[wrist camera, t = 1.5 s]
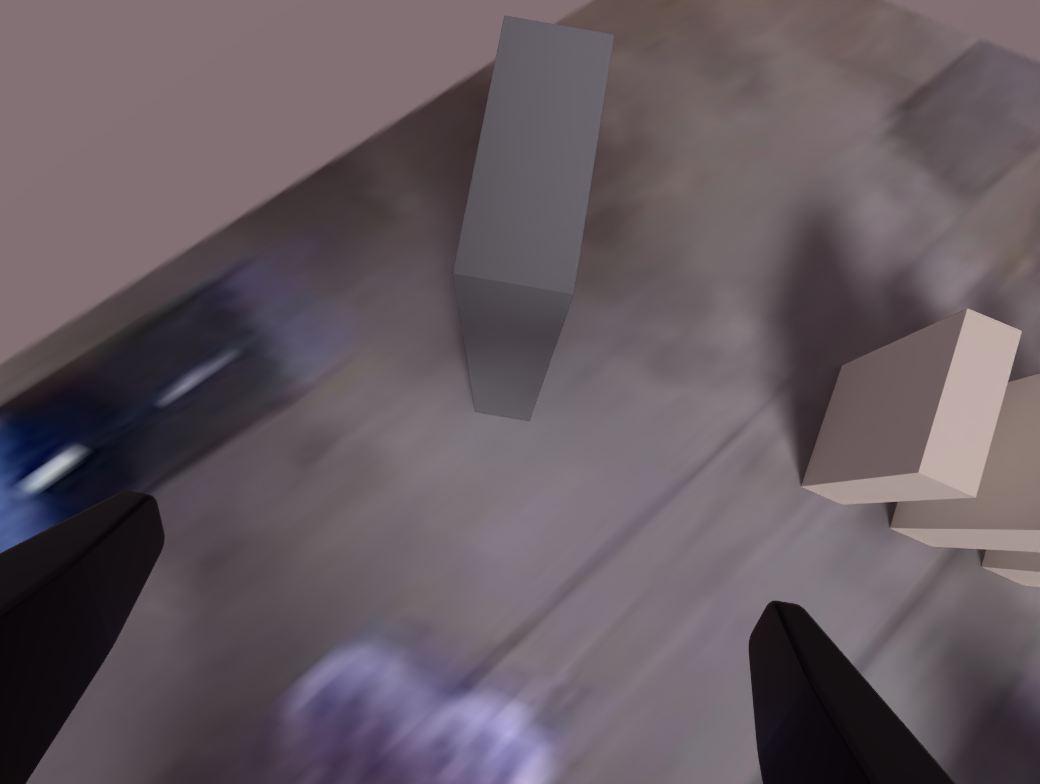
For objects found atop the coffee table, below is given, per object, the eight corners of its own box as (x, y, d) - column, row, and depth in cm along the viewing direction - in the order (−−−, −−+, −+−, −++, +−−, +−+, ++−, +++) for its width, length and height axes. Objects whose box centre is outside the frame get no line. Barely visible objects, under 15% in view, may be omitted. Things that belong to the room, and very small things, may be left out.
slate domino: (550, 293, 24) (614, 34, 11) (529, 421, 23) (573, 293, 10) (498, 284, 24) (504, 15, 11) (475, 411, 23) (452, 273, 10)
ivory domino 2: (967, 421, 24) (1141, 384, 17) (931, 546, 23) (1102, 555, 16) (927, 404, 24) (1086, 360, 17) (889, 528, 23) (1043, 530, 16)
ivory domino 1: (881, 382, 24) (1021, 331, 17) (842, 504, 23) (975, 497, 16) (841, 365, 24) (967, 308, 18) (800, 486, 23) (918, 472, 17)
